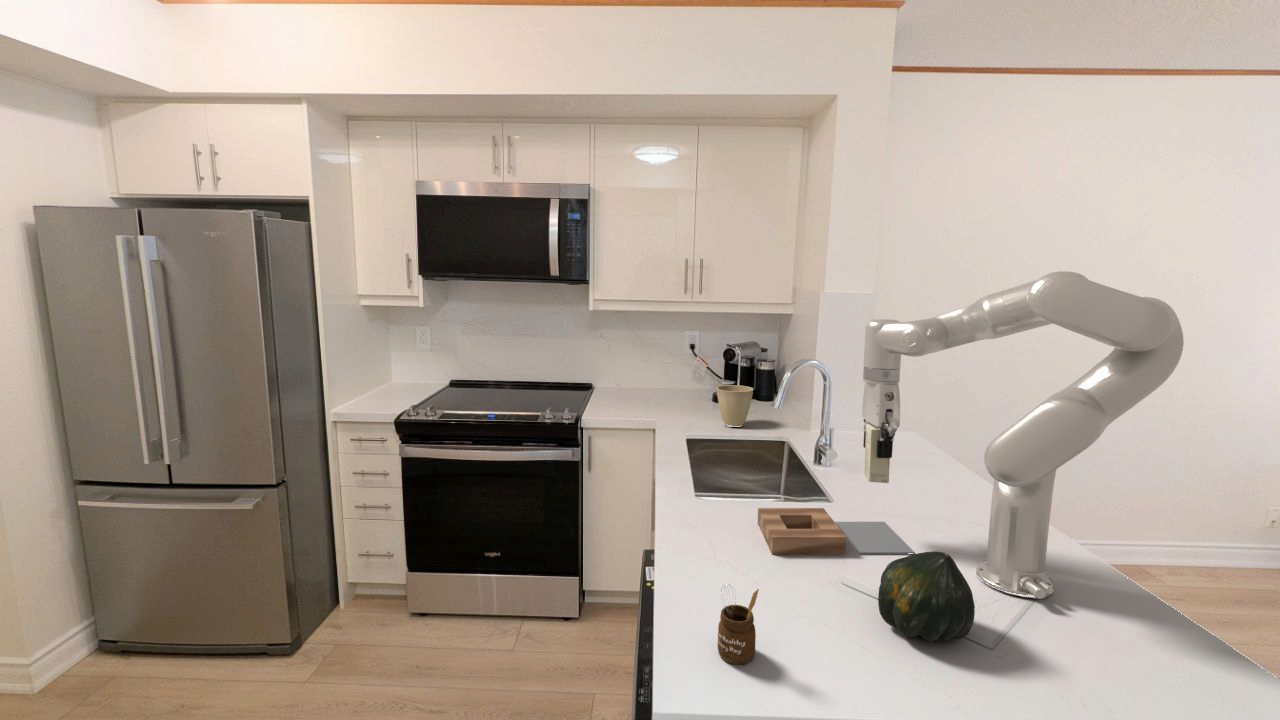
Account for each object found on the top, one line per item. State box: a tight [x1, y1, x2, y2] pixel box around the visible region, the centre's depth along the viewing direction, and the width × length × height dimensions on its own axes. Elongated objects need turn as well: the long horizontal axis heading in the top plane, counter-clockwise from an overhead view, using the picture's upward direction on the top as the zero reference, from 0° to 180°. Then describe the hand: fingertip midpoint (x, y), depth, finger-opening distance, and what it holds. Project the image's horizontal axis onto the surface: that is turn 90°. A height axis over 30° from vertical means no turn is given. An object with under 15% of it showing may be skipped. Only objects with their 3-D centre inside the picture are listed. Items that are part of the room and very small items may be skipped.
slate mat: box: [834, 521, 916, 556], centre depth 132 cm, size 16×12×1 cm
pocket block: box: [757, 507, 847, 556], centre depth 131 cm, size 16×16×4 cm
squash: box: [877, 550, 976, 642], centre depth 96 cm, size 14×15×15 cm
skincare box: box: [863, 424, 891, 484], centre depth 129 cm, size 6×4×12 cm
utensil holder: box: [717, 583, 759, 665], centre depth 90 cm, size 6×6×12 cm
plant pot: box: [716, 384, 754, 426], centre depth 233 cm, size 15×15×16 cm
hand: (877, 452), depth 129 cm, fingers closed on skincare box, 6 cm apart
